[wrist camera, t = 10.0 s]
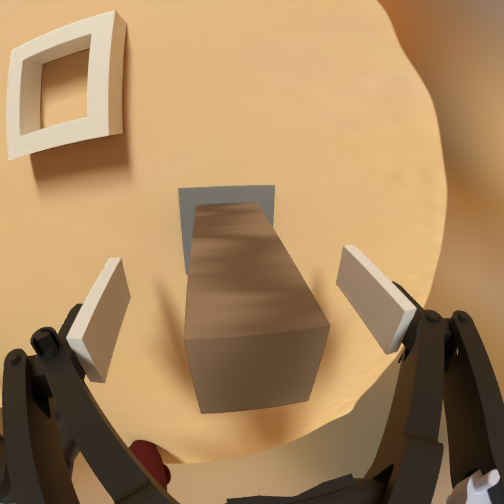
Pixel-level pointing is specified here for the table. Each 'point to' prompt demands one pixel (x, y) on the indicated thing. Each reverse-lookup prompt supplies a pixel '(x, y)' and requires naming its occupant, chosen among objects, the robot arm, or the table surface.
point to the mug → (151, 461)
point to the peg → (248, 314)
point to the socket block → (98, 88)
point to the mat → (216, 196)
